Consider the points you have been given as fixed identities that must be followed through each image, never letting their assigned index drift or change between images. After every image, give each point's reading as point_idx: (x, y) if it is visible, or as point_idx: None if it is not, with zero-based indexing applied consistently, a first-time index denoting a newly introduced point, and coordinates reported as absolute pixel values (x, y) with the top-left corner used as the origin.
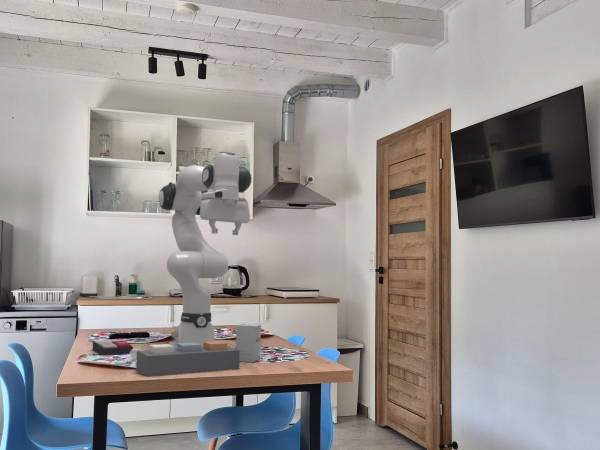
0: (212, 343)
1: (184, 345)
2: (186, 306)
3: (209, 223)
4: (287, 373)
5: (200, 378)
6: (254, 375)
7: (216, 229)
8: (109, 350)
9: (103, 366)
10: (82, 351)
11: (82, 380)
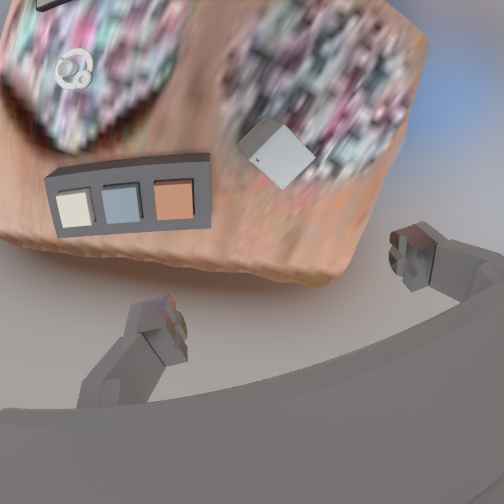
0: (164, 211)
1: (109, 220)
2: None
3: (88, 387)
4: (259, 268)
5: (133, 258)
6: (210, 265)
7: (170, 357)
8: (46, 7)
9: (21, 122)
10: None
11: (5, 221)
